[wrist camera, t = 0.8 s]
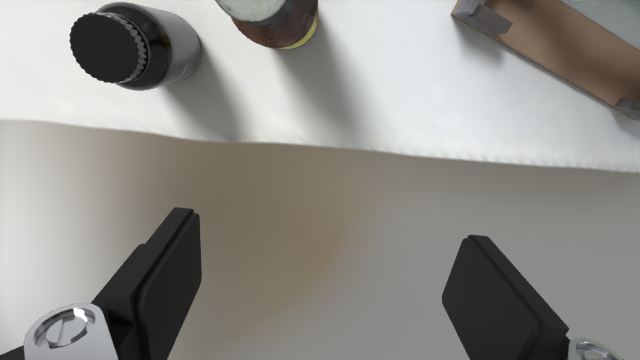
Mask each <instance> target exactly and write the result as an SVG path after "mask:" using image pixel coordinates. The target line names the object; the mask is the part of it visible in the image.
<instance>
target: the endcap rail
mask: <svg viewBox="0 0 640 360" xmlns="http://www.w3.org/2000/svg"><path fill="white" fill-rule="evenodd" d="M451 15H453V16H454V17H456V18H458V19H460V20H461V21H463V22H465V23H467V24H468V25H470V26H472V27H474V28H475V29H477V30H479V31H481V32H482V33H484V34H486V35H488V36H489V37H491V38H493V39H495V40H496V41H498V42H500V43H502V44H503V45H505V46H507V47H509V48H510V49H512V50H514V51H516V52H517V53H519V54H521V55H523V56H524V57H526V58H528V59H530V60H531V61H533V62H535V63H537V64H538V65H540V66H542V67H544V68H545V69H547V70H549V71H551V72H552V73H554V74H556V75H558V76H559V77H561V78H563V79H565V80H566V81H568V82H570V83H572V84H573V85H575V86H577V87H579V88H580V89H582V90H584V91H586V92H587V93H589V94H591V95H593V96H594V97H596V98H598V99H600V100H601V101H603V102H605V103H607V104H608V105H610V106H612V107H614V108H615V109H617V110H619V111H621V112H622V113H624V114H626V115H628V116H629V117H631V118H633V119H635V120H638V121H640V50H638V49H636V48H635V47H633V46H632V45H630V44H629V43H627V42H625V41H624V40H622V39H621V38H619V37H618V36H616V35H614V34H613V33H611V32H610V31H608V30H606V29H605V28H603V27H602V26H600V25H599V24H597V23H595V22H594V21H592V20H591V19H589V18H587V17H586V16H584V15H583V14H581V13H580V12H578V11H576V10H575V9H573V8H572V7H570V6H569V5H567V4H565V3H564V2H562V1H561V0H458V2H457V4H456V6H455V7H454V9H453V11H452V13H451Z"/></svg>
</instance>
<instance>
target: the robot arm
mask: <svg viewBox="0 0 640 360" xmlns="http://www.w3.org/2000/svg"><path fill="white" fill-rule="evenodd" d="M200 247H201V246H200V220H199V215H198V214H197V213H194V210H193V209H189V208H177V207H175V208H174V209H173V210H172V211H171V212H170V214H169V215H168V216H167V217H166V219H165V220H164V221H163V222H162V224H161V225H160V226H159V227H158V229H157V230H156V231H155V232H154V234H153V235H152V236H151V237H150V239H149V240H148V241H147V242H146V244H141V245H139V246H138V247H137V248H136V249H135V250H134V251H133V253H132V254H131V255H130V256H129V257H128V259H127V260H126V261H125V262H124V263H123V265H122V266H121V267H120V268H119V270H118V271H117V272H116V273H115V274H114V276H113V277H112V278H111V280H110V281H109V282H108V283H107V284H106V285H105V286H104V288H103V289H102V290H101V291H100V293H99V294H98V295H97V296H96V297H95V299H94V300H93V301H92V302H91V303H90V304H88V303H77V304H71V305H67V306H63V307H60V308H58V309H56V310H54V311H51V312H49V313H48V314H46V315H45V316H43V317H41V318H40V319H39V320H38V321H36V322H35V323H34V324H33V325H32V326H31V327H30V329H29V330H28V332H27V333H26V335H25V339H24V345H23V346H21V347H18V348H16V349H14V350H11V351H9V352H7V353H5V354H2V355H0V360H167V358H168V356H169V354H170V351H171V349H172V347H173V345H174V343H175V340H176V338H177V336H178V333H179V331H180V329H181V327H182V325H183V322H184V320H185V317H186V316H187V313H188V311H189V309H190V306H191V304H192V302H193V300H194V298H195V295H196V293H197V291H198V289H199V286H200V283H201V276H202V273H201V248H200ZM442 302H443V306H444V308H445V310H446V312H447V314H448V316H449V318H450V320H451V322H452V324H453V326H454V328H455V330H456V332H457V334H458V336H459V338H460V340H461V342H462V344H463V346H464V348H465V350H466V352H467V354H468V356H469V358H470V360H624V359H622V358H621V357H620V356H619V355H618V354H616V353H615V352H614V351H612V350H610V349H609V348H607V347H605V346H604V345H602V344H600V343H598V342H595V341H593V340H590V339H586V338H574V339H572V340H569V339H568V338H567V337H566V333H567V332H568V330H569V328H568V327H567V326H566V324H565V323H564V322H563V321H562V320H561V319H560V318H559V316H558V315H557V314H556V313H555V312H554V311H553V310H552V309H551V308H550V306H549V305H548V304H547V303H546V302H545V301H544V299H543V298H542V297H541V296H540V295H539V294H538V293H537V292H536V290H535V289H534V288H533V287H532V286H531V285H530V284H529V282H528V281H527V280H526V279H525V278H524V277H523V276H522V275H521V273H520V272H519V271H518V270H517V269H516V268H515V267H514V266H513V264H512V263H511V262H510V261H509V260H508V259H507V258H506V256H505V255H504V254H503V253H502V252H501V251H500V250H499V249H498V247H497V246H496V245H495V244H494V243H493V242H492V241H491V239H490V238H489V237H487V236H478V235H469V236H468V237H467V238H465V239H463V241H462V243H461V246H460V249H459V251H458V254H457V256H456V259H455V262H454V265H453V268H452V270H451V273H450V275H449V278H448V281H447V284H446V286H445V289H444V292H443V295H442Z"/></svg>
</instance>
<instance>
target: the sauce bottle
mask: <svg viewBox="0 0 640 360" xmlns="http://www.w3.org/2000/svg"><path fill="white" fill-rule="evenodd" d="M215 1H216V2H217V3H218V5H219V6H220V7H221V8H222V9H223V10H224V11H225V12H226V13H227V14H228V15H229V16H231V18H232V21H233V22H234V24H235V25H236V27H237V28H238V30H239V31H241V32H242V34H244V35H245V36H246V37H247V38H249V39H250V40H252V41H253V42H255V43H258V44H260V45H262V46H265V47H269V48H277V49H292V48H296V47H299V46H301V45H303V44H304V43H306V42H307V41H308V40H309V39H310V38H311V36H312V35H313V33H314V32H315V29H316V27H317V23H318V0H215Z"/></svg>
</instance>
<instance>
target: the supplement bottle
mask: <svg viewBox="0 0 640 360" xmlns="http://www.w3.org/2000/svg"><path fill="white" fill-rule="evenodd" d="M70 44H71V50H72V51H73V56H74V57H75V58H76V61H77V62H78V63H79V64H80V66H81V68H82V69H84V70H85V72H86V73H88V74H90V75H91V76H92V77H94V78H96V79H98V80H99V81H104V82H105V83H108V82H110V83H115V84H116V85H118V86H120V87H123V88H126V89H129V90H136V91H143V90H150V89H154V88H157V87H161V86H164V85H167V84H171V83H174V82H178V81H181V80H183V79H186V78H187V77H189V76H190V75H192V74H193V73H194V71H195V70H196V69H197V67H198V65H199V62H200V58H201V47H200V42H199V39H198V37H197V35H196V33H195V31H194V30H193V28H192V27H191V26H190V25H189V24H188V23H187V22H186V21H185V20H184V19H183V18H181V17H179V16H178V15H176V14H173V13H170V12H167V11H163V10H159V9H155V8H150V7H146V6H142V5H138V4H133V3H127V2H114V3H109V4H107V5H104V6H102V7H101V8H99V9H98V10H97V11H96V12H95V13H92V12H91V13H89V14H84V15H83V17H80V18H78V20H77V21H76V22H74V26H73V27H72V28H71V33H70Z"/></svg>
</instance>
